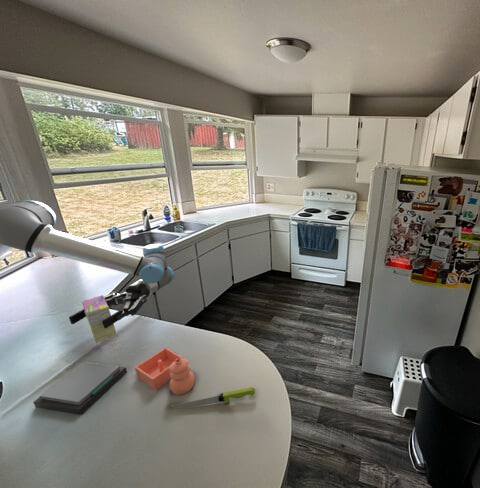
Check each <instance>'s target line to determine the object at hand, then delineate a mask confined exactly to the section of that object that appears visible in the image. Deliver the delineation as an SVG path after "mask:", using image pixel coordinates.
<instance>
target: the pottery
mask: <svg viewBox="0 0 480 488" xmlns="http://www.w3.org/2000/svg"><path fill="white" fill-rule="evenodd" d="M189 364H190V362H189V360H188V359H187V358H184V357H183V356H181V355H179V354H178V353H176V352H174V351H172V350H171V349H169V348H168V347H164V348H163V349H161V350H160V351H158V352H157V353H155V354H153V355H152V356H150V357H149V358H147V359H145V360H144V361H142V362H141V363H139V364H138V365H136V366H135V367H134V369H135V374H136V376H137V379H138V380H139V381H142V382H143V383H144V384H146V385H147V386H149V387H151V388H152V389H153V390H154V391H156V390H158V389H159V388H160V387H162V386H163V385H165V384H166V383H167V382H168V381H170V382H169V389H170V391H171V392H172V393H173V394H174V395H177V396H179V395H183V394H186V393H188V392H189V391H191V389H193V387H194V385H195V380H196V376H195V374H194V373H193V371H191V366H190V365H189Z"/></svg>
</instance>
